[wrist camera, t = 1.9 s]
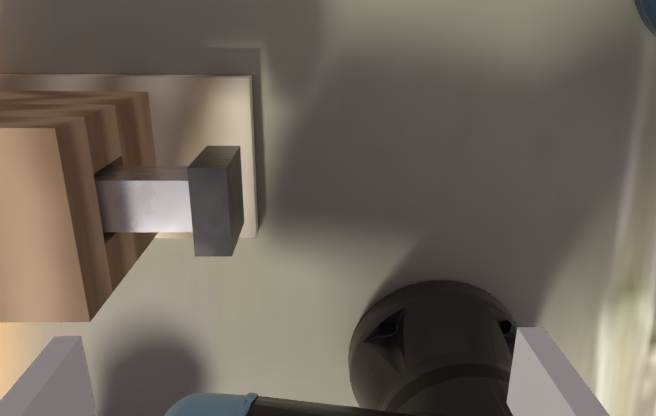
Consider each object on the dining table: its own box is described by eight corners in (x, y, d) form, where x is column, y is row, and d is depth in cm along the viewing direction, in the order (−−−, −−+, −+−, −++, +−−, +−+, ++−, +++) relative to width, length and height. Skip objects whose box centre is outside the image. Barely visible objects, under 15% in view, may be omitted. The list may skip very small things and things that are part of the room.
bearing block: (251, 75, 36) (211, 106, 22) (258, 230, 40) (228, 337, 26) (-34, 73, 35) (-255, 103, 21) (3, 230, 39) (-163, 339, 26)
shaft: (240, 145, 30) (226, 167, 25) (244, 222, 32) (231, 256, 27) (-20, 144, 30) (-83, 167, 25) (-2, 222, 32) (-57, 256, 27)
